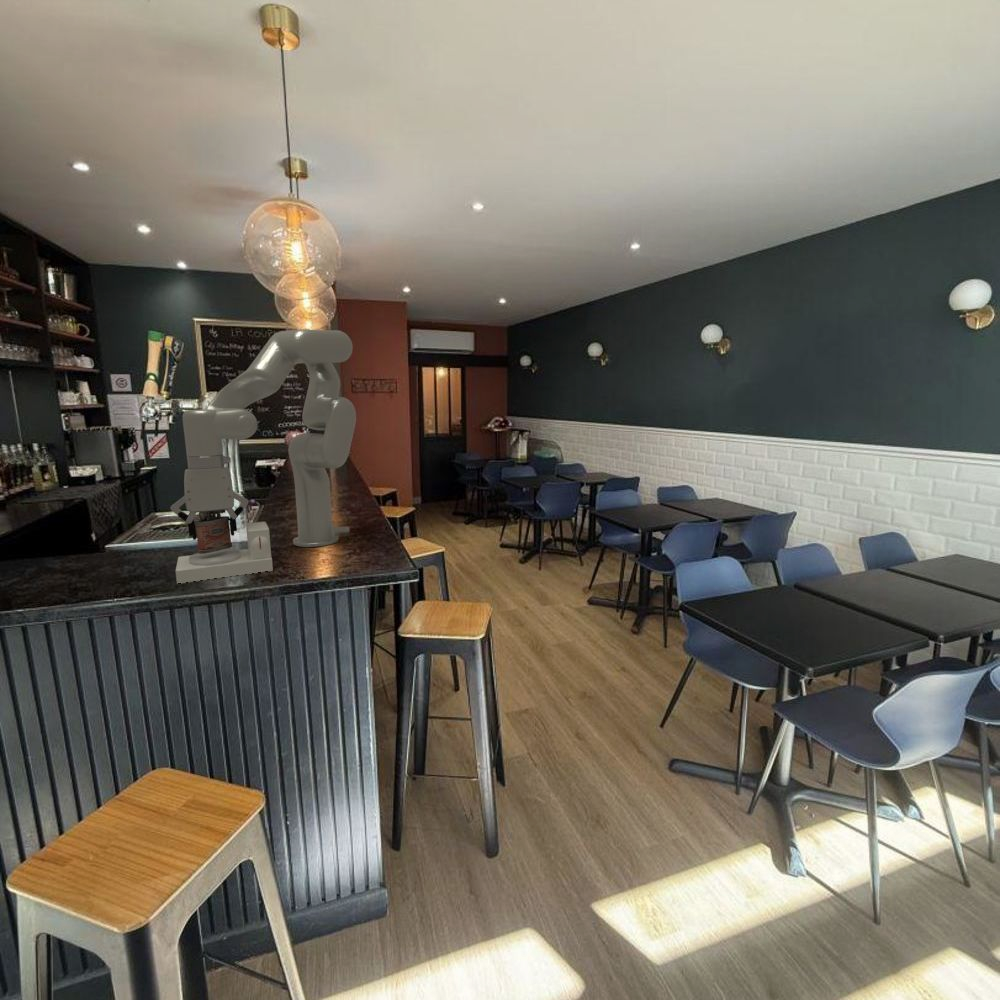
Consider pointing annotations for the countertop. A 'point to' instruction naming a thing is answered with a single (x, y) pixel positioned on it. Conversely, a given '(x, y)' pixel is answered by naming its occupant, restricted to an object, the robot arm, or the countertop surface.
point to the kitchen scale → (229, 558)
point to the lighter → (213, 532)
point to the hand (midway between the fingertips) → (213, 535)
